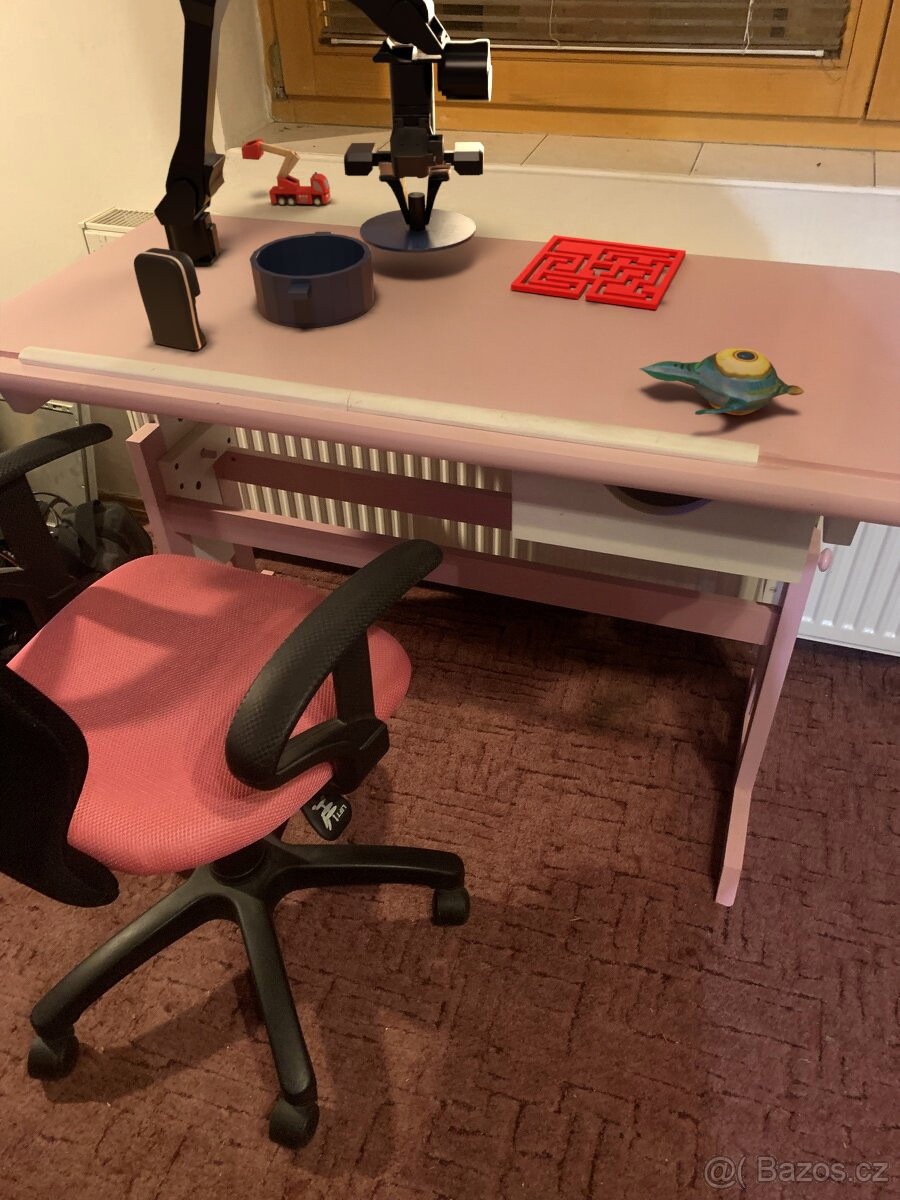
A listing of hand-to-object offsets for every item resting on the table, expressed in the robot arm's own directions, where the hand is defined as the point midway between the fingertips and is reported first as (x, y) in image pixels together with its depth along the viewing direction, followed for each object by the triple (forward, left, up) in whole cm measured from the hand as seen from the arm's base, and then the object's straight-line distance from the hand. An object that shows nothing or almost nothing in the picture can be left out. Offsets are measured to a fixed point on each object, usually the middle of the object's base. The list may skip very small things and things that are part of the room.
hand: (417, 224), depth 125 cm
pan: (-13, -14, -6) cm, 20 cm away
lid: (0, 0, -1) cm, 1 cm away
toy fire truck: (-24, +27, -6) cm, 37 cm away
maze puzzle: (+26, -4, -6) cm, 27 cm away
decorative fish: (+36, -41, -6) cm, 55 cm away
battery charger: (-28, -26, -6) cm, 39 cm away
